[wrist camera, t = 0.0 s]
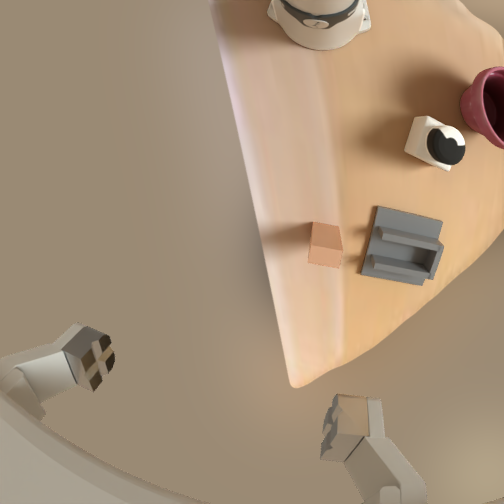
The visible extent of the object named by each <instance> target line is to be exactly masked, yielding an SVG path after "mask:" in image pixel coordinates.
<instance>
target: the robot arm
mask: <svg viewBox="0 0 504 504" xmlns="http://www.w3.org/2000/svg"><path fill="white" fill-rule="evenodd" d="M267 14H268V16H269V18H271V19H272V20H274V21H275V22H277V23H279V24H280V26H281V27H282V28H283V30H284V31H285V33H286V34H287V35H288V36H289V37H290V38H291V39H292V40H293V41H295V42H296V43H298V44H300V45H302V46H304V47H307V48H310V49H315V50H332V49H336V48H339V47H342V46H344V45H345V44H347V43H348V42H350V41H351V40H352V39H353V38H354V37H355V36H356V35H357V34H360V33H363V32H366V31H368V30H369V29H370V28H371V21H370V16H369V11H368V7H367V2H366V0H271V2H270V5H269V8H268V10H267ZM364 19H365V21H364ZM110 344H111V339H110V336H108V335H107V334H104V333H102V332H100V331H97V330H95V329H93V328H91V327H88V326H86V325H84V324H82V323H79V322H77V323H74V324H73V325H72V326H71V327H70V328H69V329H68V330H67V331H66V332H65V333H63V334H62V335H61V336H60V337H59V338H58V339H57V340H56V341H55V342H54V343H53V344H52V345H51V344H46V345H42V346H39V347H35V348H32V349H28V350H25V351H22V352H18V353H15V354H11V355H8V356H5V357H3V358H2V359H0V504H211V503H207V502H204V501H201V500H197V499H194V498H190V497H188V496H185V495H182V494H179V493H176V492H173V491H170V490H168V489H165V488H162V487H160V486H157V485H155V484H152V483H150V482H147V481H145V480H143V479H140V478H138V477H136V476H133V475H131V474H129V473H127V472H125V471H123V470H121V469H119V468H117V467H115V466H112V465H111V464H109V463H107V462H105V461H103V460H101V459H99V458H97V457H96V456H94V455H92V454H90V453H88V452H87V451H85V450H83V449H82V448H80V447H78V446H76V445H75V444H73V443H72V442H70V441H68V440H67V439H65V438H64V437H62V436H60V435H59V434H58V433H56V432H55V431H53V430H52V429H50V428H49V427H47V426H46V425H45V424H43V423H42V422H40V421H41V420H42V419H43V417H44V416H45V415H46V412H45V410H44V408H43V407H42V406H41V402H43V401H46V400H48V399H50V398H52V397H54V396H56V395H58V394H60V393H62V392H64V391H66V390H68V389H71V388H73V387H75V386H76V385H79V386H81V387H83V388H85V389H88V390H90V391H92V392H94V391H95V390H96V389H97V387H98V386H99V385H100V384H101V382H102V376H103V375H106V374H109V372H110V371H111V370H112V368H113V365H114V362H115V354H114V351H113V350H112V348H111V347H110ZM322 433H323V434H324V436H325V438H324V440H323V442H322V443H321V454H320V459H321V460H328V461H336V462H337V461H338V462H344V465H345V467H346V469H347V471H348V472H349V474H350V476H351V478H352V480H353V482H354V483H355V485H356V487H357V489H358V491H359V493H360V494H361V496H362V498H363V500H364V502H363V503H362V504H427V494H426V483H425V482H424V481H423V479H422V478H421V477H420V476H419V475H418V473H417V472H416V471H415V469H414V468H413V467H412V466H411V464H410V463H409V462H408V461H407V460H406V458H405V457H404V456H403V455H402V454H401V452H400V451H399V450H398V448H397V447H396V446H395V445H394V443H393V442H392V441H391V440H390V438H386V437H385V434H384V422H383V413H382V404H381V400H380V398H372V397H364V396H352V395H344V394H336V395H335V397H334V399H333V402H332V407H330V408H329V409H328V411H327V413H326V416H325V419H324V424H323V432H322ZM484 504H504V497H503V498H500V499H496V500H494V501H490V502H487V503H484Z"/></svg>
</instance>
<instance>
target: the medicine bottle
mask: <svg viewBox="0 0 504 504" xmlns="http://www.w3.org/2000/svg"><path fill="white" fill-rule="evenodd" d="M404 152H406V153H408V154H410V155H412V156H414V157H416V158H419V159H421V160H423V161H425V162H427V163H429V164H431V165H433V166H435V167H437V168H440V169H443V170H445V171H449V170H450V168H451V165H455V164H457V163H458V162H460V161H461V160H462V158H463V156H464V153H465V142H464V139H463V136H462V135H461V133H460V132H459V131H458V130H457V129H456V128H454V127H452V126H446V125H444V124H443V123H441V122H439V121H437V120H435V119H433V118H431V117H430V116H420V117H415V118H414V120H413V124H412V127H411V130H410V133H409V136H408V139H407V142H406V145H405V148H404Z"/></svg>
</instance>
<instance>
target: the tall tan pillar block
mask: <svg viewBox="0 0 504 504" xmlns="http://www.w3.org/2000/svg"><path fill="white" fill-rule="evenodd" d="M342 253H343V248H342V242H341V236H340V230H339V227H338V226H333V225H328V224H322V223H317V222H313V225H312V230H311V236H310V245H309V255H308V263H312V264H317V265H322V266H328V267H333V268H339V266H340V262H341V258H342Z"/></svg>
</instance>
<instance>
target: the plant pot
mask: <svg viewBox="0 0 504 504" xmlns="http://www.w3.org/2000/svg"><path fill="white" fill-rule="evenodd" d="M460 108H461V113H462V116H463V118H464V120H465V122H466V123H467V125H468V126H469V127H470V128H471V129H473V130H474V131H476V132H478V133H480V134H482V135H484V136H485V137H486V138H487V139H488V140H489V141H490V142H491V143H492V144H494V145H495V146H497V147H499V148H501V149H504V67H493V68H489V69H486V70H483V71H482V72H480V73H479V74H478V75H477V76H476V78H475V79H474V81H473V84H472V85H471V86H470V87H469V88H468V89H467V90H466V91H465V92H464V93H463V95H462V97H461V101H460Z"/></svg>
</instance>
